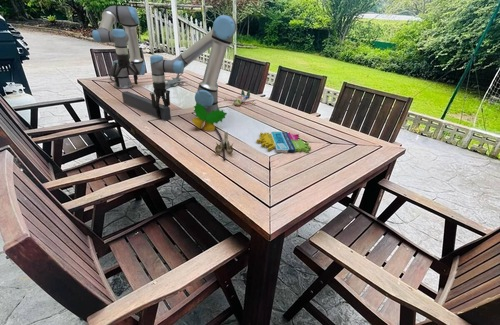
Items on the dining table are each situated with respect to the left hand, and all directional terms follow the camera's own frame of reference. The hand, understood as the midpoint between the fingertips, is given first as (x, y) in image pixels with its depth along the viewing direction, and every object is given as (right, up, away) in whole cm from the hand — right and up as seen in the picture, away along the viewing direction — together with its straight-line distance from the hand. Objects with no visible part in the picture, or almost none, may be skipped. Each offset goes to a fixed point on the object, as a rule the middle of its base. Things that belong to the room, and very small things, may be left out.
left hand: (127, 85), depth 190 cm
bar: (+15, -19, -3) cm, 24 cm away
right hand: (+30, -25, -14) cm, 42 cm away
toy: (+82, -5, +31) cm, 88 cm away
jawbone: (+76, -50, -51) cm, 104 cm away
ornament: (+64, -35, -25) cm, 77 cm away
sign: (+108, -45, -37) cm, 123 cm away
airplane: (+15, +19, +64) cm, 68 cm away
